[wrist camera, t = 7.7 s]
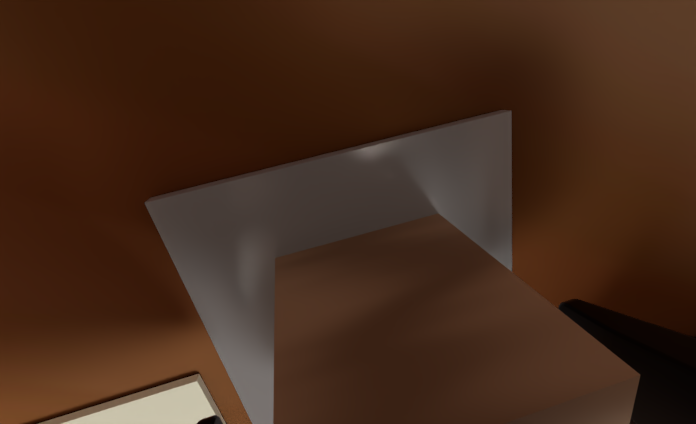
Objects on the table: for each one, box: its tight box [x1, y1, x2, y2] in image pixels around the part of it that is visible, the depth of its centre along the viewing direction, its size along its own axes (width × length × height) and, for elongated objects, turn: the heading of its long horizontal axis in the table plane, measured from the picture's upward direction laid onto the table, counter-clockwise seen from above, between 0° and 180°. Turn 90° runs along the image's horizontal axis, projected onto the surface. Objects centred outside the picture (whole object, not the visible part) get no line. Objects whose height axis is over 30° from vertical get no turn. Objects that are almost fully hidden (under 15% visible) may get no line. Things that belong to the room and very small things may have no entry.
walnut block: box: [273, 213, 640, 424], centre depth 8 cm, size 5×5×6 cm
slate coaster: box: [145, 110, 512, 424], centre depth 11 cm, size 10×10×1 cm
